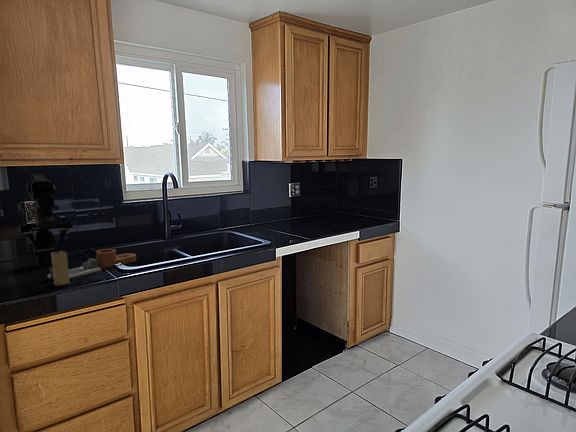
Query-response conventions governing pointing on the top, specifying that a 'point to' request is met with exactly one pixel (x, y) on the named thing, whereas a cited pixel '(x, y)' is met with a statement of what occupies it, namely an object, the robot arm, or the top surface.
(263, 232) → the top surface
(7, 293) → the top surface
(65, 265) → the gold tall square block
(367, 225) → the top surface
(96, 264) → the plate with raised blocks
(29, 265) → the top surface
